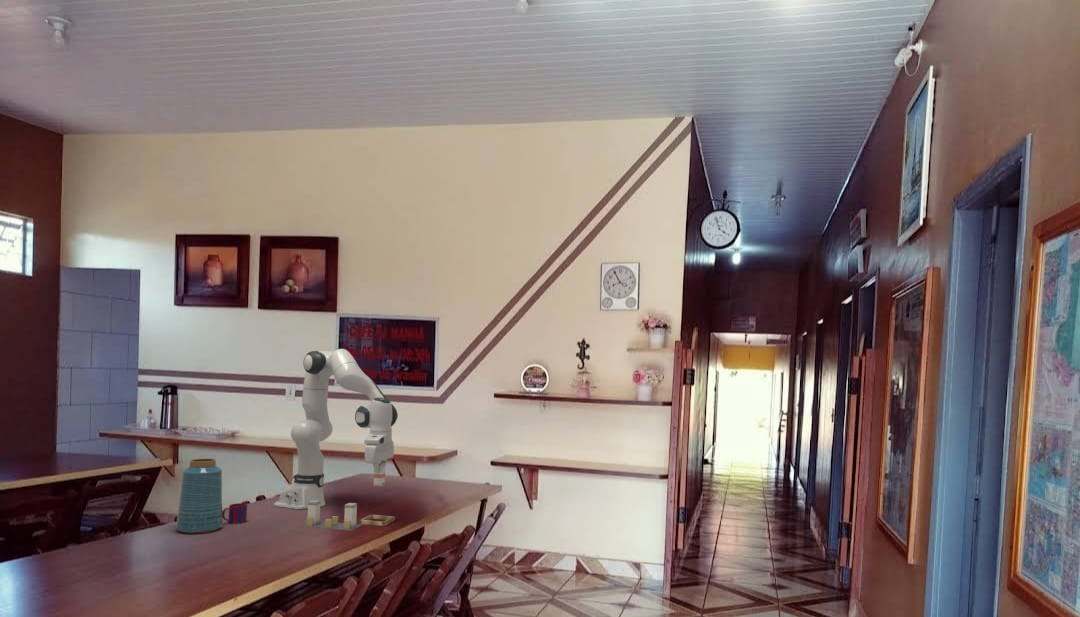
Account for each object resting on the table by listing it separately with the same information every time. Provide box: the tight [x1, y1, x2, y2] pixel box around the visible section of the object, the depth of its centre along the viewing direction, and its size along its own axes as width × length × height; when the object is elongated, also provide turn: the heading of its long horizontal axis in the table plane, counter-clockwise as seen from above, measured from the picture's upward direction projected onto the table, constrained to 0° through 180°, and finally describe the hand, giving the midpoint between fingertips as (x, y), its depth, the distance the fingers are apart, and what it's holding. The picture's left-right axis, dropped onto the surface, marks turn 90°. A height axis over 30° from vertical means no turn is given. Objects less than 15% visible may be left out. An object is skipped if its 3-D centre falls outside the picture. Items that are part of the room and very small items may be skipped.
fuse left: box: [307, 500, 321, 525], centre depth 290 cm, size 3×3×9 cm
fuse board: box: [299, 515, 363, 532], centre depth 288 cm, size 22×10×4 cm, turn 77°
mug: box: [222, 502, 248, 525], centre depth 295 cm, size 7×10×7 cm
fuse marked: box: [373, 462, 387, 487], centre depth 298 cm, size 3×3×9 cm
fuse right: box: [343, 502, 358, 528], centre depth 287 cm, size 3×3×9 cm
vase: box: [175, 457, 223, 535], centre depth 283 cm, size 16×16×27 cm
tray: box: [358, 514, 397, 527], centre depth 297 cm, size 11×11×2 cm
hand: (379, 471), depth 298 cm, fingers closed on fuse marked, 3 cm apart
